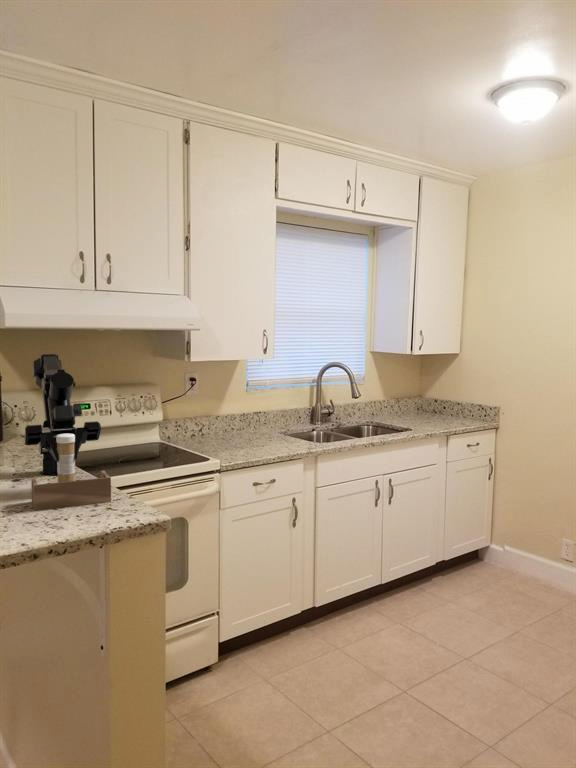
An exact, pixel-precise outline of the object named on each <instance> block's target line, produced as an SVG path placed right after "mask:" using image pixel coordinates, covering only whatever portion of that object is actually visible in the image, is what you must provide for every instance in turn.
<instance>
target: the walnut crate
mask: <svg viewBox="0 0 576 768" xmlns="http://www.w3.org/2000/svg"><path fill="white" fill-rule="evenodd" d="M100 473H101V474H100V478H99V477H98V478H89V479H79V480H75V481H67V482H58V481H57V482H49V483H38V482H37V479H36V477H31V478H30V479H31V480H30V482H31V483H30V484H31V486H30V487H31V502H32V506H33V509H34V511H42V510H43V511H44V510H49V509H50V510H51V509H60V508H68V507H76V506H85V505H91V504H92V505H93V504H100V503H101V504H102V503H108V502H112V480H111V479H112V478H111V476H110V475H109V474H108V473H107V472H106V471H105V470H101V471H100Z"/></svg>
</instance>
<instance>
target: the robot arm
mask: <svg viewBox="0 0 576 768" xmlns="http://www.w3.org/2000/svg"><path fill="white" fill-rule="evenodd" d="M31 370H32V377H33V378H34V380H35V384H36V385H37V386H38V387H39V388H40V389H41V393H42V401H43V402H42V403H43V404H42V405H43V410H44V411H43V412H44V418H45V420H44V421H43V423H42V424H28V425H26V426H25V428H24V445H26V446H35V445H36V446H37V445H38V453H39V454H40V455H43V456H42V457H43V458H42V470H40V471H39V474H41V475H50V476H58V473H57V461H58V453H57V442H56V436H57V435H59V434H65V433H70V434H74V435H75V443H74V452H75V461H77V460H78V455H79V450H80V449H81V446H82V445H83V444H86V442H90V441H91V442H93V441H99V439H100V437H101V436H100V435H101V432H102V431H101V430H102V426H101V423H100V422H99V421H97V420H96V421H95V420H94V421H84V424H83V427H76V426H75V425H76V418H77V417H81V416H82V414H83V411H82V408H83V407H82V405H81V404H82V403H80V402H79V403H76V402H75V403H73V405H72V403H71V398H72V395H73V389H74V387H76V382H75V381H74V380H75V379H74V377H73V376H72V375H71V374H70V373H68V372H67V371H65V369H64V368H63V365H62V360H61V359H59V354H55V353H42V354H40V356H39V358H37V359H35V360H34V361H32V368H31Z"/></svg>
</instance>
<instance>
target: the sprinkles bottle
mask: <svg viewBox="0 0 576 768" xmlns="http://www.w3.org/2000/svg"><path fill="white" fill-rule="evenodd" d="M56 442H57V453H58V461H57V473H58V475H57V482H67V481H76V473H75V472H76V460H75V452H74V443H75V435H74V434H70V433H65V434H59V435H57V436H56Z"/></svg>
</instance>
